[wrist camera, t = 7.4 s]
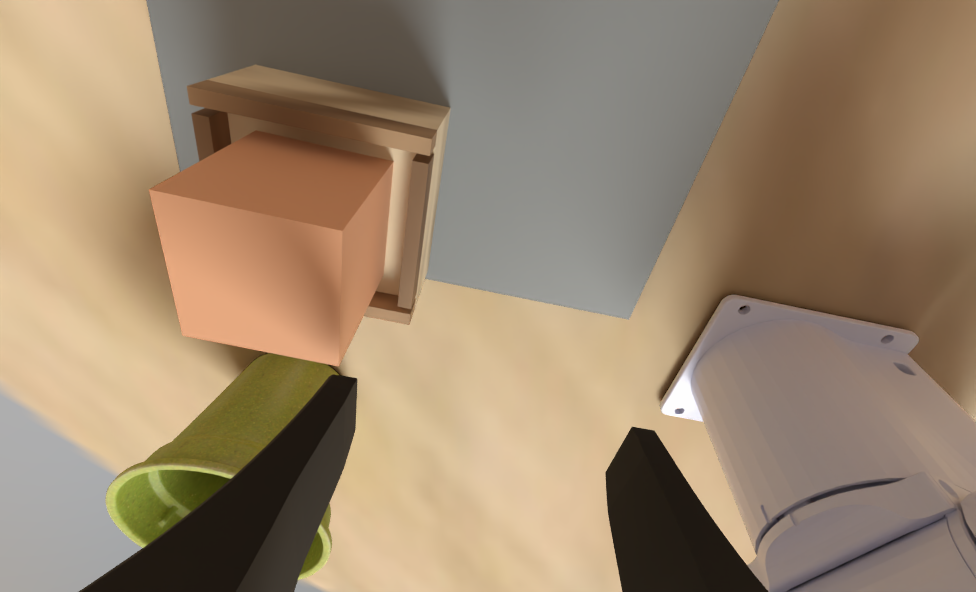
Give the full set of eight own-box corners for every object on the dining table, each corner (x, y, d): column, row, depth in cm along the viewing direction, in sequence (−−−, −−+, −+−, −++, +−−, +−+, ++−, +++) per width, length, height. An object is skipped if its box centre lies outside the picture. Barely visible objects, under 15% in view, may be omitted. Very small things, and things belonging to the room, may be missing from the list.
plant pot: (289, 296, 23) (184, 435, 16) (413, 405, 27) (372, 556, 20) (187, 369, 27) (64, 511, 20) (309, 456, 31) (244, 600, 24)
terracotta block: (393, 161, 15) (342, 231, 11) (383, 274, 17) (339, 366, 13) (255, 130, 15) (148, 189, 10) (265, 249, 17) (182, 335, 13)
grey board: (873, -239, 12) (899, -256, 11) (625, 307, 22) (628, 319, 21) (85, -455, 11) (49, -491, 10) (204, 221, 21) (191, 231, 20)
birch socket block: (450, 107, 17) (431, 139, 13) (427, 269, 21) (409, 324, 17) (255, 64, 16) (186, 86, 13) (270, 238, 20) (220, 288, 17)
